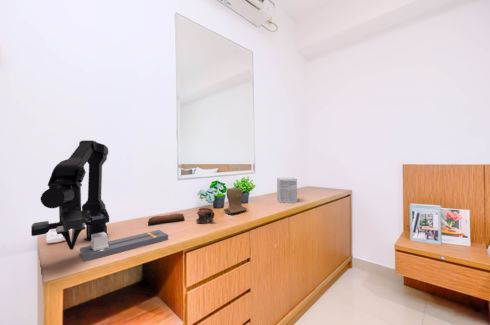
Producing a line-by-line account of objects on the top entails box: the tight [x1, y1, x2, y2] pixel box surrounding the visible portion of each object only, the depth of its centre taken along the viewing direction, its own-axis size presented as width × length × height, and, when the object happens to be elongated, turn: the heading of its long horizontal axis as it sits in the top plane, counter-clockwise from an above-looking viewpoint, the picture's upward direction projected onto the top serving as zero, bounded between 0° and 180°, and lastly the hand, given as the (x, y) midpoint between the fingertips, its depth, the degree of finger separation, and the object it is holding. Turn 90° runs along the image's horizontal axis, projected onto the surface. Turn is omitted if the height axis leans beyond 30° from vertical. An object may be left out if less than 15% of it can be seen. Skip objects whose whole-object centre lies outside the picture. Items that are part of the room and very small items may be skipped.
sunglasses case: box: [147, 212, 185, 227], centre depth 118 cm, size 18×7×7 cm
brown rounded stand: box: [223, 187, 248, 215], centre depth 138 cm, size 15×12×15 cm
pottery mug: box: [196, 207, 215, 225], centre depth 117 cm, size 12×10×8 cm
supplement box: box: [276, 177, 298, 204], centre depth 171 cm, size 13×13×18 cm
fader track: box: [79, 229, 169, 262], centre depth 85 cm, size 28×9×2 cm, turn 133°
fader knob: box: [89, 232, 109, 251], centre depth 79 cm, size 4×6×4 cm
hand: (71, 249), depth 74 cm, fingers closed
